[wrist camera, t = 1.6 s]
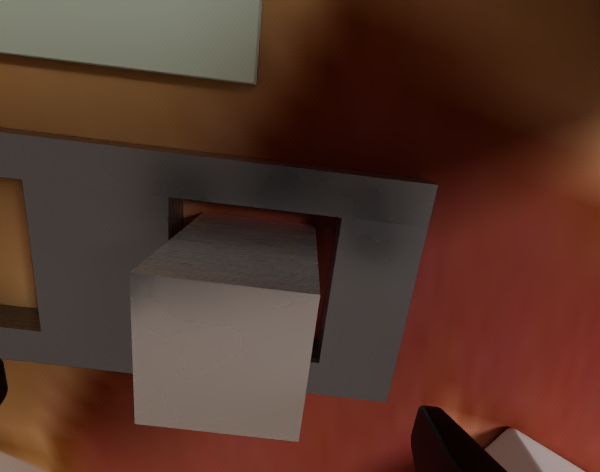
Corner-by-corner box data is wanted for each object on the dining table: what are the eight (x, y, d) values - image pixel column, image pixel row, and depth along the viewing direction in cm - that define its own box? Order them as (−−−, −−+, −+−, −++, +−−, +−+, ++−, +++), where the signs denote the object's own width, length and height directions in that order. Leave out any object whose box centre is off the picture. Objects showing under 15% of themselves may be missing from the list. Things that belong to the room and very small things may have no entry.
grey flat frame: (424, 178, 13) (438, 184, 12) (379, 377, 16) (386, 402, 14) (-171, 106, 13) (-231, 104, 11) (-112, 321, 15) (-154, 341, 14)
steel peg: (315, 224, 14) (320, 294, 8) (302, 322, 15) (298, 441, 9) (204, 211, 14) (129, 273, 8) (200, 310, 15) (134, 423, 9)
